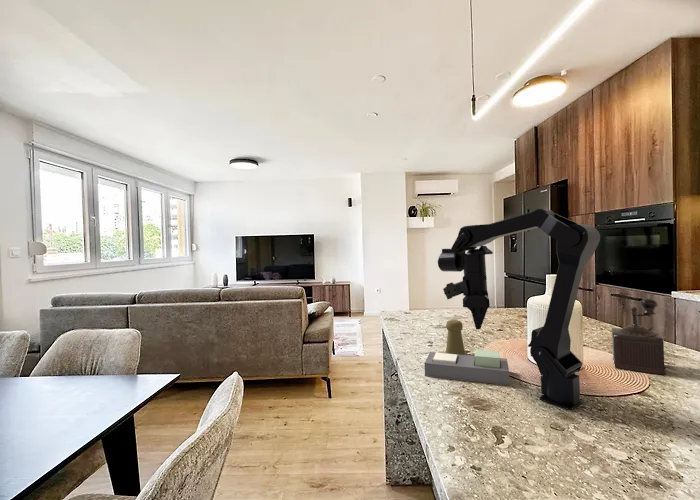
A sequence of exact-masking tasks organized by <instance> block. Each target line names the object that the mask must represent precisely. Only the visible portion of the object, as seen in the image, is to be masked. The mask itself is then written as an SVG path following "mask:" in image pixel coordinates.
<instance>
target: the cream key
mask: <svg viewBox="0 0 700 500" xmlns="http://www.w3.org/2000/svg"><path fill="white" fill-rule="evenodd" d="M435 353H436V354H435V356H434V358H433V362H441V363H452V364H457V354H446V352H435Z"/></svg>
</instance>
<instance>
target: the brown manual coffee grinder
mask: <svg viewBox="0 0 700 500" xmlns="http://www.w3.org/2000/svg"><path fill="white" fill-rule="evenodd" d="M639 306H640V307H642V309H643V312H642V313H638V312H637V310H638V308H637V307H636V306H632V307H631V308H630V311H631V313H630V316H631V317H632V324H631V325H627V326H623V327H621V328H618V327H617V328H616V327H611V339H612V340H611V341H612V344H611V345H612V361H613V360H614V363H613V365H614V364H615V366H614V368H615V369H616V368H619V369H618V370H622V369H624V371H628V370H630V371H629V372H638V373H644V374H651V375H658V376H666V372H665V370H667V367H666V365H665V349H664V345H665V343H664V341H663V340H664V339H663V337H662V336H661V335H660V333H659V332H658V331H655V330H652V328H653V326H650V328H648V327H645V326H643V325H639V324H638V318H641V317H642V318H643V317H648V318H649V317H651V316H655V315H656V312H655V310H656V308H657V307H658V306H659V304H658V301H657V300H654V299H652V298H643V299H641V300H640V301H639Z"/></svg>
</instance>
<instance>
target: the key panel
mask: <svg viewBox="0 0 700 500" xmlns="http://www.w3.org/2000/svg"><path fill="white" fill-rule="evenodd" d="M436 353H437V352H435V351H434V352H433V351H430V352H429V353H428V355H427V357H426V359H425V360H424V376H425V377H431V378H432V377H435V378H442V379H450V380H451V379H453V380H460V381H461V380H462V381H469V382H477V383H485V384H493V385H494V384H497V385H503V386H511V385H510V383H511V382H510V369H509V368H510V367H509V363H508V359H507V358H504V357H500V368H493V367H483V366H475V355H469V354H468V355H467V354H465V355H458V354H457V364H452V363H441V362H433V358H434V356H435V354H436ZM445 353H446V352H445ZM446 354H447V353H446Z"/></svg>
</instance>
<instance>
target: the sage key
mask: <svg viewBox="0 0 700 500" xmlns="http://www.w3.org/2000/svg"><path fill="white" fill-rule="evenodd" d="M474 356H475V366H483V367H493V368H500V358H501V357H500V351H499V350H488V349H475V352H474Z"/></svg>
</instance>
